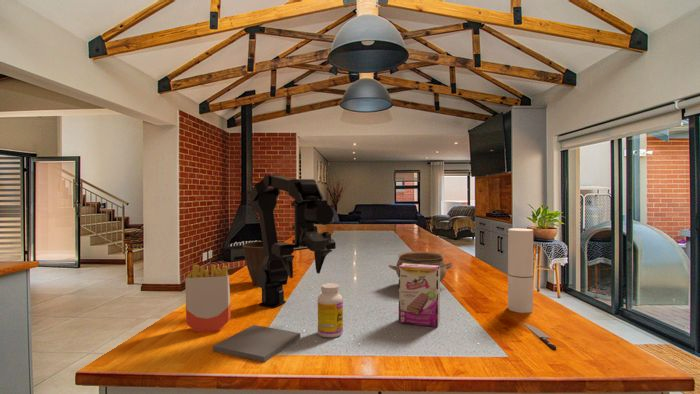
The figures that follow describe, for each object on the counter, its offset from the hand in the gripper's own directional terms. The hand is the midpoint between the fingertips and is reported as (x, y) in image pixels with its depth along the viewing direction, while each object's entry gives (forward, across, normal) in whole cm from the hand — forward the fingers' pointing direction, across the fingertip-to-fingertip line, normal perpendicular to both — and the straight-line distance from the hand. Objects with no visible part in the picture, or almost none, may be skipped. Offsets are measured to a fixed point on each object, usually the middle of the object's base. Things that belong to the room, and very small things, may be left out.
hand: (304, 275), depth 112 cm
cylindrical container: (+13, +57, -35) cm, 68 cm away
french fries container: (+13, -24, +11) cm, 30 cm away
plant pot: (+13, +9, +47) cm, 50 cm away
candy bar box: (+13, +24, -23) cm, 35 cm away
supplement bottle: (+13, 0, -13) cm, 19 cm away
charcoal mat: (+13, -18, -7) cm, 23 cm away
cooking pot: (+13, +53, +2) cm, 55 cm away
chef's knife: (+13, +41, -49) cm, 65 cm away
